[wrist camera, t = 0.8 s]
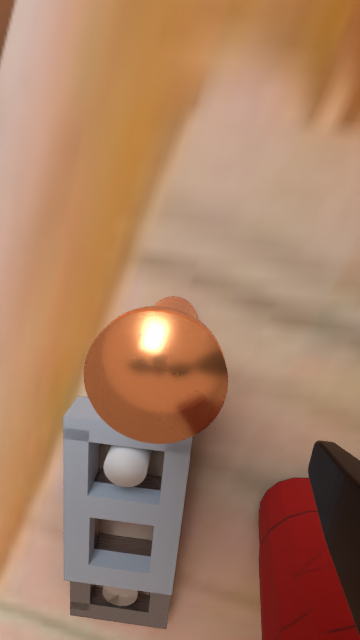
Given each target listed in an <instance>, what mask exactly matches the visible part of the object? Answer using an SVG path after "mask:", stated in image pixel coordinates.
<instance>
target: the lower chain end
mask: <svg viewBox="0 0 360 640" xmlns="http://www.w3.org/2000/svg"><path fill="white" fill-rule="evenodd" d="M93 482H100V483H108V484H114V483H112V482H111V481H110V480H109V479H108V478H107V477H106V475H105V473H104V470H103V469H99V470H98V472H97V474H96V477H95V479H94V481H93ZM161 483H162V477H157V476H149V475H146V477H145V479H144V480H143V481H142V482H141V483H140V484H138V485H136V486H133V487H138V488H146V489H153V490H161ZM99 522H100V519H98V518H95V534H94V549H100V550H107V551H114V552H122V553H129V554H136V555H143V556H151V550H152V541H149V540H142V539H135V538H127V537H120V536H113V535H106V534H99ZM170 597H171V595H166V594H159V593H152V592H151V593H150V595H143V594H138V590H130V589H123V588H116V587H109V586H104V587H103V589H101V588H95V584H88V583H81V582H74V581H70V615H73V616H80V617H87V618H94V619H101V620H107V621H114V622H121V623H128V624H135V625H142V626H149V627H156V628H162V629H166V628H167V620H168V613H169V605H170Z"/></svg>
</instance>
